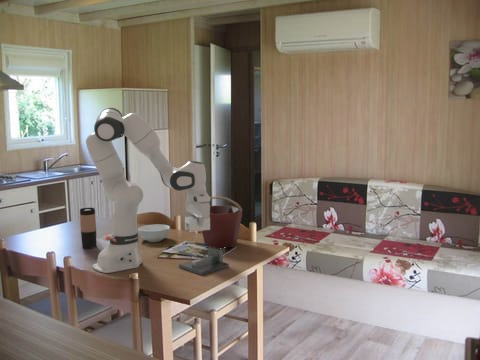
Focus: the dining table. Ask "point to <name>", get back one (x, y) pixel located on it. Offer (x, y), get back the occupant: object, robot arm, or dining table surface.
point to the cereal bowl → (154, 232)
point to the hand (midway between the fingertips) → (197, 224)
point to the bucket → (223, 225)
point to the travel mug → (88, 228)
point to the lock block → (196, 224)
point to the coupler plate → (204, 268)
